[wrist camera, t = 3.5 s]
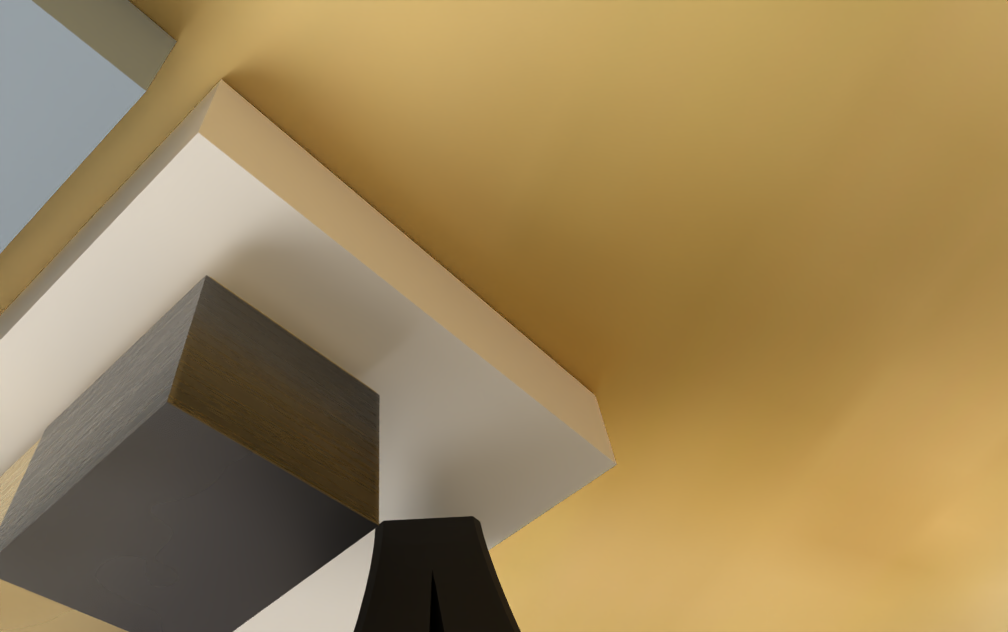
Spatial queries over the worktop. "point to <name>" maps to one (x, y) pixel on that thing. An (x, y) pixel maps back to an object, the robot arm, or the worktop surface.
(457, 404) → the jamb plate
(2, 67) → the door panel
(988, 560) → the worktop surface
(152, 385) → the swing bar
